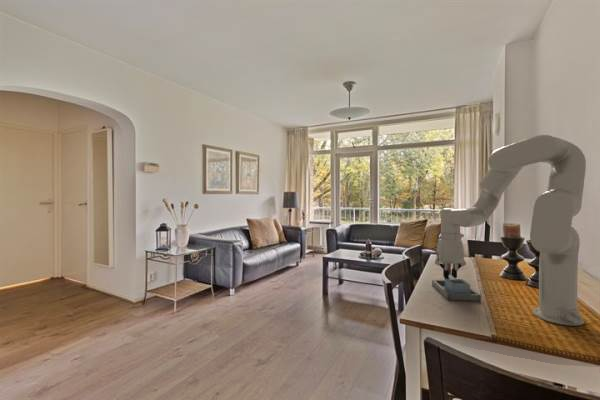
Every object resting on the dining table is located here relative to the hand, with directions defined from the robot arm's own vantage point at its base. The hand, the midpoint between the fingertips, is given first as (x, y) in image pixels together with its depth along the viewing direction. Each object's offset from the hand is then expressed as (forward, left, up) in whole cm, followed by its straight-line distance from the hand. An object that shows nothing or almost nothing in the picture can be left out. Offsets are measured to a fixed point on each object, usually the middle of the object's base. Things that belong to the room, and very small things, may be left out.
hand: (450, 278), depth 126 cm
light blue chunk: (-4, 0, -4) cm, 6 cm away
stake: (+12, -3, -5) cm, 13 cm away
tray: (-4, 0, -5) cm, 6 cm away
